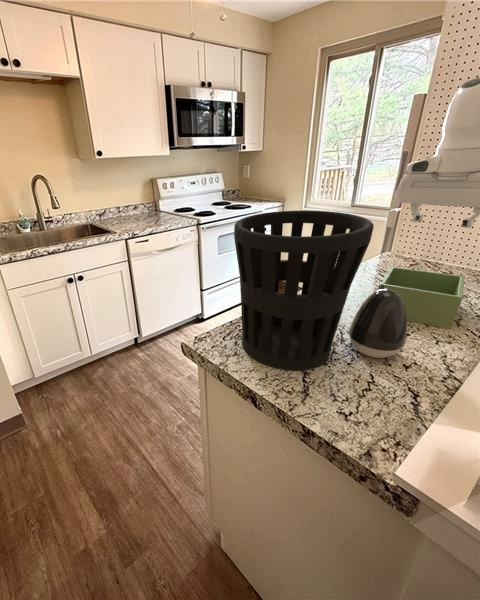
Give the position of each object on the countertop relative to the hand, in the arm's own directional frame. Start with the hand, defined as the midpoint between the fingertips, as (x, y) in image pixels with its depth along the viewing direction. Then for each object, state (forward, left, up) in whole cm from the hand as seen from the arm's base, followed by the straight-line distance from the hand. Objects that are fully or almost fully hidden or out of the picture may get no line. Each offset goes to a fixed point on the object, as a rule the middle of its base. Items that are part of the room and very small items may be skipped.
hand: (440, 224), depth 75 cm
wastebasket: (+42, 0, -23) cm, 48 cm away
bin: (0, 0, -23) cm, 23 cm away
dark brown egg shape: (+26, +10, -23) cm, 36 cm away
